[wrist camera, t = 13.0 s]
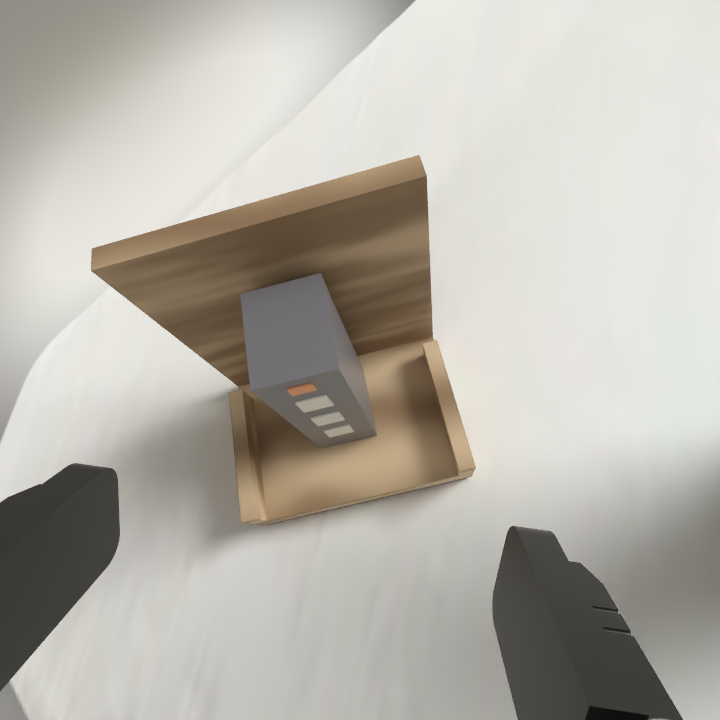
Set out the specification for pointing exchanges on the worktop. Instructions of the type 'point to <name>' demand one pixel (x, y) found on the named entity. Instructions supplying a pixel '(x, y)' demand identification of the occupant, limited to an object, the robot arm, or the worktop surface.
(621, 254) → the worktop surface
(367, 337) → the wooden angled stand
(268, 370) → the power strip
